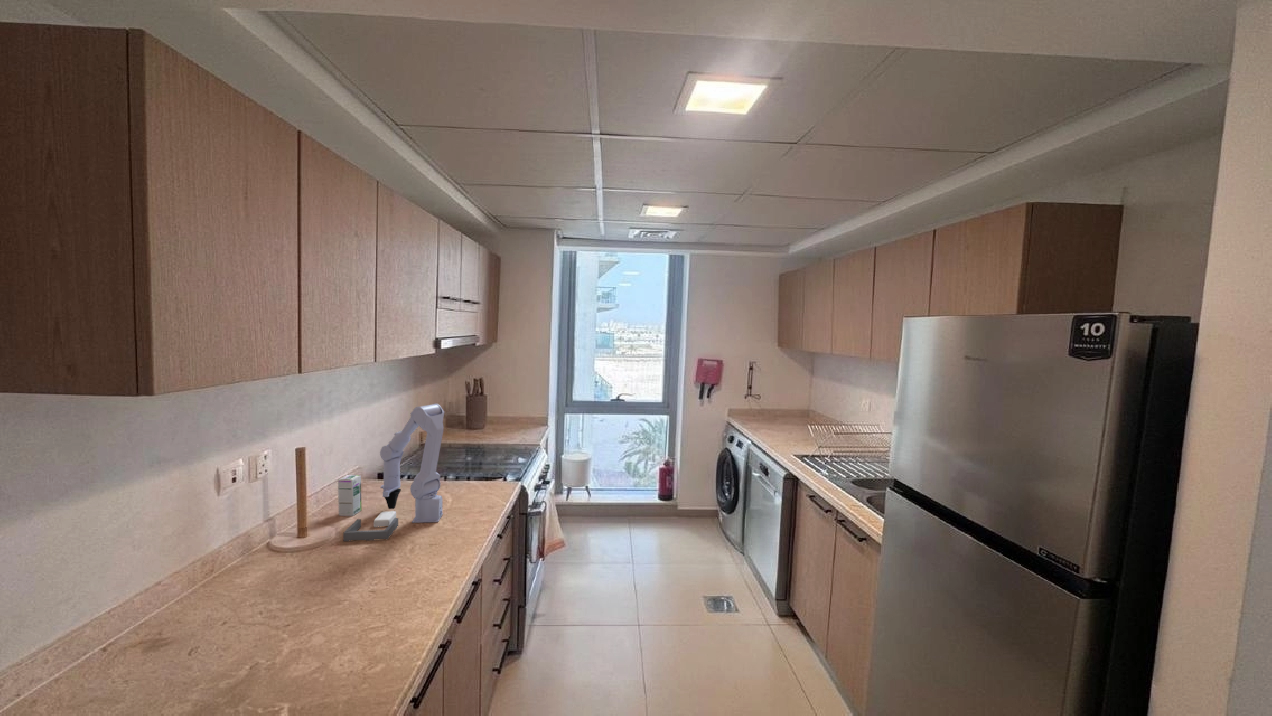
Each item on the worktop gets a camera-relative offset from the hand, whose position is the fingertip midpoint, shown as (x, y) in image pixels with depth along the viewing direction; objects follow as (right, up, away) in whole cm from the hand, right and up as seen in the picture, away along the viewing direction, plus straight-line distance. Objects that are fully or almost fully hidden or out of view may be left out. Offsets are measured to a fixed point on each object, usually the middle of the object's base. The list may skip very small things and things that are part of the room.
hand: (391, 508), depth 192 cm
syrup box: (-15, -1, -3) cm, 15 cm away
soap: (+3, -2, -11) cm, 11 cm away
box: (+3, -2, -20) cm, 20 cm away
